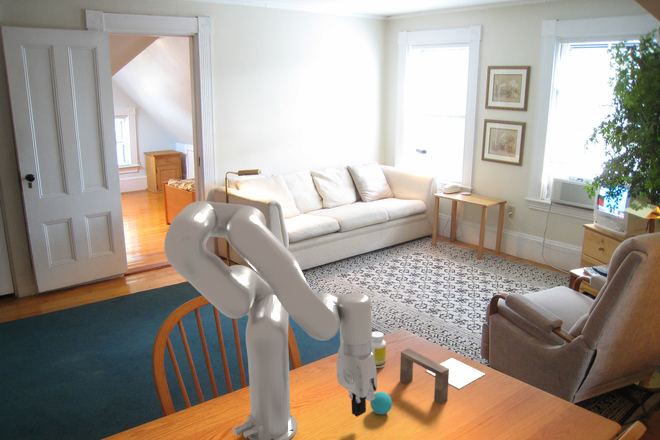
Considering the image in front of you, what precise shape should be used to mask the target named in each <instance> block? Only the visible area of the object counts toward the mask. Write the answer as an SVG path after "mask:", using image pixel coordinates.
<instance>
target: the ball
mask: <svg viewBox="0 0 660 440" xmlns="http://www.w3.org/2000/svg"><path fill="white" fill-rule="evenodd" d="M374 395H375V399H374V400H372V401H370V407H371V409H372V411H373V413H376V414H378V415H386V414H387V413H389V412H390V411H391V409H392V406H393V402H392V398H391V396H390V395H389V394H388V393H387V392H385V391H377V392H374Z"/></svg>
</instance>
